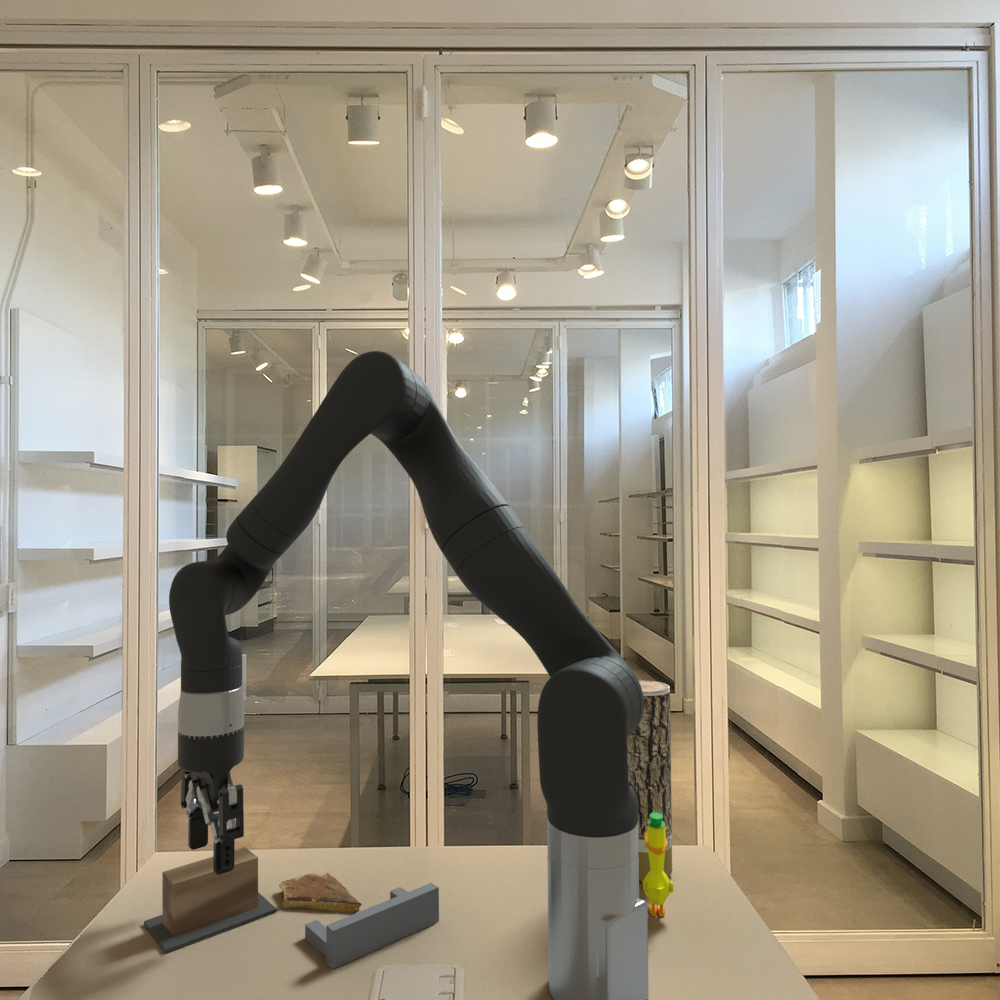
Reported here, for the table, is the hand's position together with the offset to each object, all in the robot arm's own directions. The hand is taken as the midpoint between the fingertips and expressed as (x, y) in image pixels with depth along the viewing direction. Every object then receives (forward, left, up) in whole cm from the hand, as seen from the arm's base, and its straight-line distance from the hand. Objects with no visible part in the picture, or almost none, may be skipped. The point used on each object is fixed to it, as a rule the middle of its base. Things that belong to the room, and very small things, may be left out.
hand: (210, 859), depth 91 cm
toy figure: (-35, -41, -7) cm, 55 cm away
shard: (-4, -13, -8) cm, 16 cm away
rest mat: (0, 0, -7) cm, 7 cm away
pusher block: (0, 0, -7) cm, 7 cm away
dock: (-16, -13, -7) cm, 21 cm away
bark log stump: (-28, -48, -7) cm, 56 cm away
